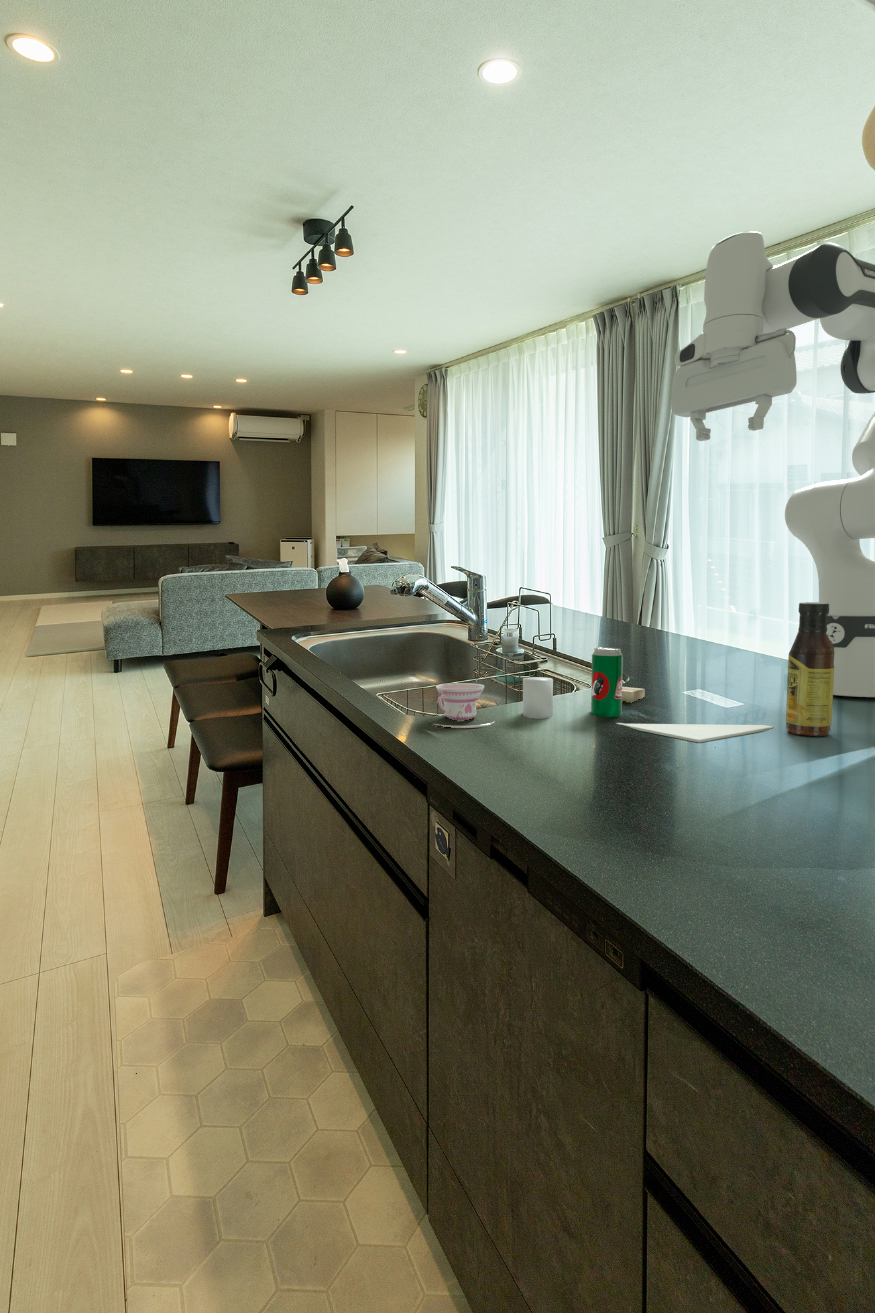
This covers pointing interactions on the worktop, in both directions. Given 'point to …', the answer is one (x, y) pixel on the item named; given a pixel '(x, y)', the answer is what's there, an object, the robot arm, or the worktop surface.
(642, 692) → the birch block
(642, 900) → the worktop surface
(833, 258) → the robot arm
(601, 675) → the soda can
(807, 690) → the sauce bottle
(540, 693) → the grey cylinder
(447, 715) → the teacup
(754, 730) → the mat
